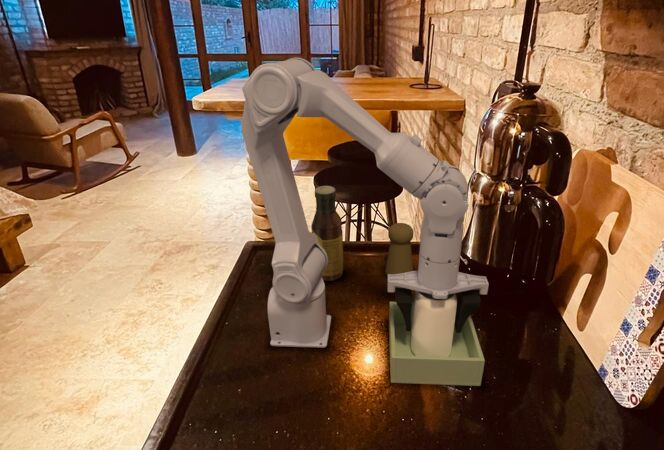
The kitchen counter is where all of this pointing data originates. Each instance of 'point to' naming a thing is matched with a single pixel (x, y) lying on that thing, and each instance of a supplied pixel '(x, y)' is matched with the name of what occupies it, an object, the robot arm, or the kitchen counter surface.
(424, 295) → the can
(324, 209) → the sauce bottle
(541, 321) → the kitchen counter surface
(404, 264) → the olive game pawn
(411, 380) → the bin
